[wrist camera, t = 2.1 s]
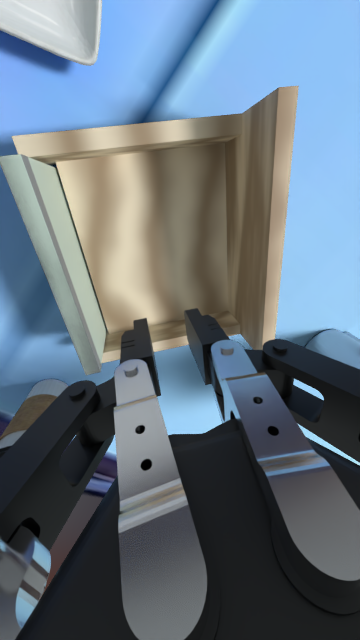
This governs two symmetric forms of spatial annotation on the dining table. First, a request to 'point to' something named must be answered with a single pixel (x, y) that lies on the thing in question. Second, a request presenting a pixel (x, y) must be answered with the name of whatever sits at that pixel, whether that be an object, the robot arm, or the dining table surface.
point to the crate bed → (181, 217)
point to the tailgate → (58, 253)
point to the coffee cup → (31, 410)
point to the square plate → (56, 26)
